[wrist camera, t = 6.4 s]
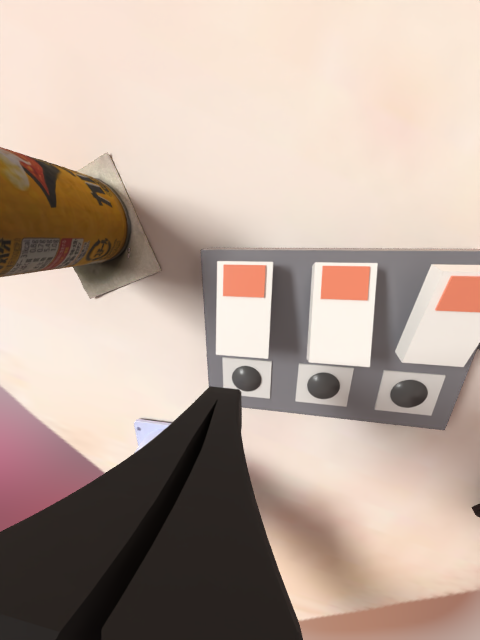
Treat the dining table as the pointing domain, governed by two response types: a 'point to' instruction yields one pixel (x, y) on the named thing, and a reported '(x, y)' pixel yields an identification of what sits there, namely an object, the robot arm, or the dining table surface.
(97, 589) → the robot arm
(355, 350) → the rocker middle
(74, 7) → the dining table surface
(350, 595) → the dining table surface
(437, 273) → the rocker near camera
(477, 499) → the dining table surface
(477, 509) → the mate gourd
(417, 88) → the dining table surface
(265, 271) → the rocker near arm
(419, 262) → the rocker switch panel
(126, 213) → the condiment
